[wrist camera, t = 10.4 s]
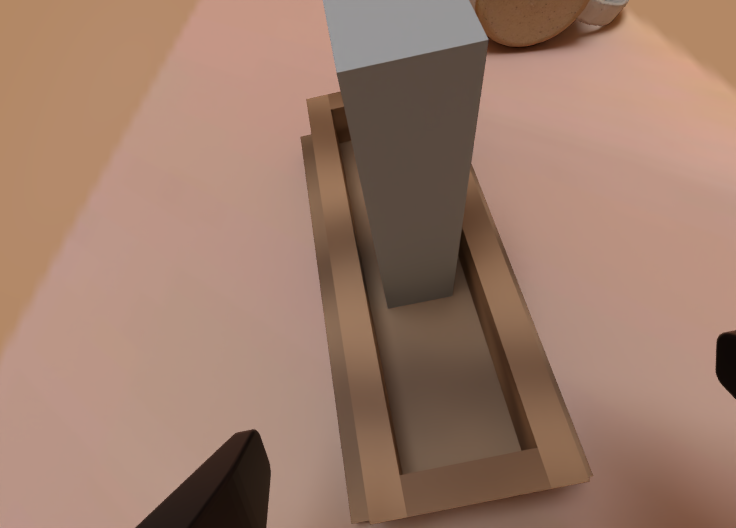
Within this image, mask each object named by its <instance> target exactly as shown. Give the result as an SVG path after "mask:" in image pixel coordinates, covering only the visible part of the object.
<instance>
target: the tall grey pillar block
mask: <svg viewBox="0 0 736 528" xmlns="http://www.w3.org/2000/svg"><path fill="white" fill-rule="evenodd" d="M323 4H324V9H325V14H326V20H327V25H328V30H329V35H330V40H331V46H332V51H333V56H334V61H335V67H336V72H337V77H338V81H339V86H340V90H341V95H342V100H343V104H344V109H345V113H346V118H347V123H348V127H349V132H350V136H351V141H352V146H353V150H354V155H355V159H356V164H357V169H358V173H359V178H360V183H361V187H362V192H363V196H364V201H365V206H366V210H367V215H368V219H369V224H370V229H371V233H372V238H373V242H374V247H375V252H376V256H377V261H378V265H379V270H380V275H381V279H382V284H383V289H384V293H385V298H386V302H387V307H388V309H389V308H394V307H399V306H404V305H409V304H414V303H419V302H424V301H429V300H434V299H440V298H445V297H450V296H452V294H453V287H454V280H455V273H456V266H457V259H458V252H459V245H460V238H461V231H462V224H463V217H464V209H465V202H466V195H467V188H468V181H469V174H470V167H471V160H472V153H473V146H474V139H475V132H476V125H477V118H478V111H479V104H480V97H481V90H482V83H483V76H484V69H485V62H486V55H487V48H488V37H487V35H486V33H485V31H484V29H483V27H482V25H481V23H480V21H479V19H478V17H477V15H476V13H475V11H474V9H473V7H472V5H471V3H470V1H469V0H323Z"/></svg>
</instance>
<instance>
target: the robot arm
mask: <svg viewBox="0 0 736 528" xmlns="http://www.w3.org/2000/svg"><path fill="white" fill-rule="evenodd" d="M716 375H717V377H718V380H719V381H720V383H721V384H722V385H723V386H724V387H725V389H726V390H727V391H728V392H729V393H730V394H731V395H732V396H733V397H734V398H735V399H736V330H735V331H730V332H725V333H722V334H721V335H719V337H718V338H717V344H716ZM270 477H271V470H270V463H269V460H268V457H267V454H266V451H265V448H264V445H263V443H262V440H261V437H260V434H259V433H258V431H256V430H255V429H252V430H247V431H242V432H238V433H235V434H234V435H233V436H232V437H231V438H230V439H229V440H227V441H226V442H225V443H224V444H223V445H222V446H221V447H220V448H219V449H218V450H217V451H216V452H215V453H214V454H213V455H212V456H211V457H210V458H208V459H207V460H206V461H205V462H204V463H203V464H202V465H201V466H200V467H199V468H198V469H197V470H196V471H195V472H194V473H193V474H192V475H190V476H189V477H188V478H187V479H186V480H185V481H184V482H183V483H182V484H181V485H180V486H179V487H178V488H177V489H176V490H175V491H174V492H173V493H171V494H170V495H169V496H168V497H167V498H166V499H165V500H164V501H163V502H162V503H161V504H160V505H159V506H158V507H157V508H156V509H155V510H153V511H152V512H151V513H150V514H149V515H148V516H147V517H146V518H145V519H144V520H143V521H142V522H141V523H140V524H139V525H138V526H137V527H136V528H266V524H267V513H268V501H269V489H270Z"/></svg>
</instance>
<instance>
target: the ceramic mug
mask: <svg viewBox="0 0 736 528" xmlns="http://www.w3.org/2000/svg"><path fill="white" fill-rule="evenodd" d="M627 2H628V0H470V3H471V5H472V7H473V9H474V11H475V13H476V15H477V17H478V19H479V21H480V23H481V25H482V27H483V29H484V31H485V33H486V35H487V36H488V37H489V38H491V39H492V40H493V41H495V42H497V43H500V44H503V45H506V46H510V47H523V46H531V45H534V44H537V43H540V42H543V41H546V40H548V39H550V38H552V37H554V36H556V35H558V34H559V33H561V32H562V31H564V30H565V29H566V28H567V27H568V26H569V25H571V24H572V23H573V22H574V21H575V20H576V19H577V20H579V21H580V22H583V23H585V24H589V25H595V26H597V25H598V26H603V25H606V24H609V23H610V22H611V21H613V20H614V18H615V17H616V16H617V15H618V14H619V12H620V11H621V10H622V9H623V8H624V7H625V6H626V4H627Z"/></svg>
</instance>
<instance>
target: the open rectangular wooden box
mask: <svg viewBox="0 0 736 528" xmlns="http://www.w3.org/2000/svg"><path fill="white" fill-rule="evenodd" d="M306 100H307V107H308V114H309V120H310V127H311V135H307V136H302V137H301V143H302V151H303V159H304V166H305V174H306V181H307V189H308V197H309V204H310V212H311V219H312V227H313V235H314V242H315V250H316V257H317V265H318V273H319V280H320V288H321V295H322V303H323V311H324V318H325V326H326V333H327V341H328V349H329V356H330V364H331V372H332V379H333V387H334V394H335V402H336V410H337V417H338V425H339V432H340V440H341V448H342V455H343V463H344V470H345V478H346V486H347V493H348V501H349V508H350V516H351V524H354V523H359V522H364V521H370V525H371V524H376V523H381V522H387V521H392V520H397V519H402V518H407V517H412V516H417V515H422V514H427V513H432V512H437V511H442V510H447V509H452V508H457V507H463V506H468V505H473V504H478V503H483V502H488V501H493V500H498V499H503V498H508V497H513V496H518V495H523V494H528V493H533V492H538V491H544V490H549V489H554V488H559V487H564V486H569V485H574V484H579V483H584V482H589V481H590V480H589V477H592V476H593V474H592V471H591V469H590V466H589V464H588V461H587V459H586V456H585V454H584V451H583V448H582V446H581V443H580V441H579V438H578V436H577V433H576V430H575V428H574V425H573V423H572V420H571V418H570V415H569V413H568V410H567V407H566V405H565V402H564V400H563V397H562V395H561V392H560V389H559V387H558V384H557V382H556V379H555V377H554V374H553V372H552V369H551V366H550V364H549V361H548V359H547V356H546V354H545V351H544V348H543V346H542V343H541V341H540V338H539V336H538V333H537V331H536V328H535V325H534V323H533V320H532V318H531V315H530V313H529V310H528V307H527V305H526V302H525V300H524V297H523V295H522V292H521V290H520V287H519V284H518V282H517V279H516V277H515V274H514V272H513V269H512V266H511V264H510V261H509V259H508V256H507V254H506V251H505V249H504V246H503V243H502V241H501V238H500V236H499V233H498V231H497V228H496V226H495V223H494V220H493V218H492V215H491V213H490V210H489V208H488V205H487V202H486V200H485V197H484V195H483V192H482V190H481V187H480V185H479V182H478V179H477V177H476V174H475V172H474V169H473V167H472V164H471V167H470V174H469V181H468V188H467V195H466V202H465V209H464V217H463V224H462V231H461V238H460V245H459V252H458V259H457V266H456V273H455V280H454V287H453V294H452V296H450V297H445V298H440V299H434V300H429V301H424V302H419V303H414V304H409V305H404V306H399V307H394V308H389V309H388V307H387V302H386V298H385V293H384V289H383V284H382V279H381V275H380V270H379V265H378V261H377V256H376V252H375V247H374V242H373V238H372V233H371V229H370V224H369V219H368V215H367V210H366V206H365V201H364V196H363V192H362V187H361V183H360V178H359V173H358V169H357V164H356V159H355V155H354V150H353V146H352V141H351V136H350V132H349V127H348V123H347V118H346V113H345V109H344V104H343V100H342V95H341V92H337V93H332V94H328V95H323V96H319V97H314V98H310V99H306Z"/></svg>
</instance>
